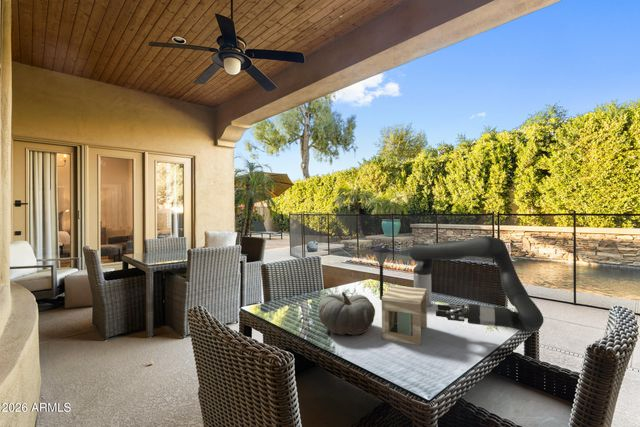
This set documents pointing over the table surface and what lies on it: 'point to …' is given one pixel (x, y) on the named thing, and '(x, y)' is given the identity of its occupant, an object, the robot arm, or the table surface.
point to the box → (406, 303)
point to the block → (404, 323)
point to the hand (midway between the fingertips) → (436, 310)
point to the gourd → (346, 313)
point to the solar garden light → (381, 263)
